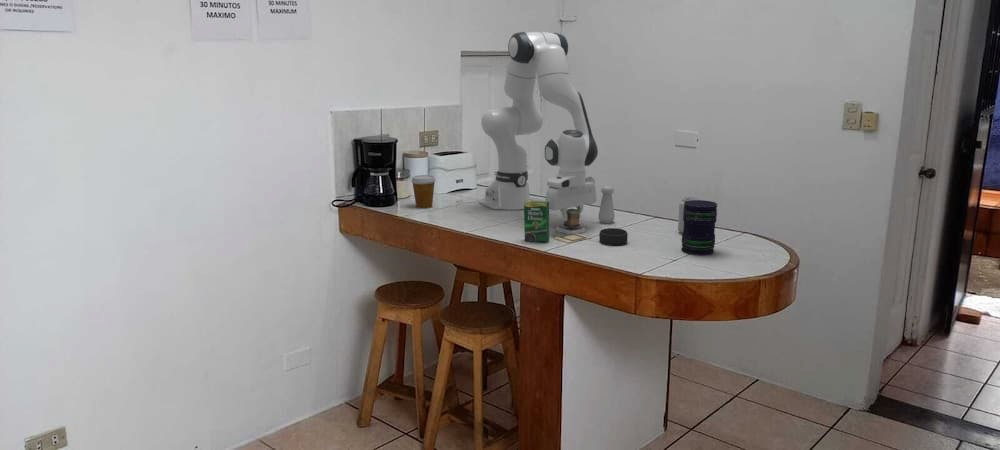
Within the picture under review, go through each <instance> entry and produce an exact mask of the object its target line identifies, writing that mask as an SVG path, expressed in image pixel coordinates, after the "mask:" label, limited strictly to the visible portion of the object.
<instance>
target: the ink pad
mask: <svg viewBox="0 0 1000 450" xmlns="http://www.w3.org/2000/svg"><path fill="white" fill-rule="evenodd" d="M556 232H559V233H560V232H561V233H563V234H565V235H569V234H575V233H578V234H584V233H586V228H585V227H582V226H577V227H572V228H571V227H567V226H563V225H560V226H556Z"/></svg>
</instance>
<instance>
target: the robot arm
mask: <svg viewBox="0 0 1000 450" xmlns="http://www.w3.org/2000/svg"><path fill="white" fill-rule="evenodd" d="M507 48H508V55H509V60H508V63H507V64H508V65H507V70H506V75H505V80H504V87H503V88H504V89H503V90H504V93H505V94H506V96H507V97H508V98H510V99H511V100H512V105H511V106H509V107H508V106H506V107H504V106H503V107H495V108H491V109H489V110H488V109H487V110H486V111H484V113H483V114H482V117H481V124H480V125H481V128H482V130H483V132H484V133H485V134H486V135H487V136H488V137H489V138H490V139H491V140H492V141H493V143H494V145H495V147H496V150H497V151H496V152H497V162H498V166H497V168H498V169H497V171H494V175H495V180H494V181H493V182H492V183H491V184H489V185H488V186H487V187H486V188H485V191H484V198H482V199H479V200H478V201H479V202H478V203H479V204H481V205H483V206H485V207H487V208H490V209H492V210H506V211H507V210H508V211H509V210H510V211H511V210H517V211H518V210H524V202H525V201H531V197H530V195H531V194H530V185H529V183H528V180H529V178H528V176H529V173H528V172H529V171H528V170H527V168H528V166H527V165H528V163H527V161H528V160H527V155H528V154H527V150H526V149H525V148H524V147H522V146H521V145H519V144H518V143H517V141H516V136H527V135H531V134H533V133H537V132H538V131H540V130H541V129H542V126H543V124H544V123H543V122H544V118H543V114H542V112H541V110H540V109H539V108H538V107H537V106H536V104H535V101H534V91H535V84H536V79H537V85H538V89H539V94H540V95H541V97H542V99H544V100H545V101H546V102H549V103H550V104H553V105H554V106H557V107H560V108H563V109H564V110H566V111H568V113H569V114H570V115H571V117H572V121H573V124H574V129H565V130H563V131H562V132H561V133H560V135H559V136H558V137H554V138H552V139H551V138H550V140H548V141H547V142H546V143H545V146H544V159H545V160H546V162H547V163H548V164H549V165H550V166H554V167H559V169H558V173H557V174H555V175H554V176H552V177H551V178H548V179H547V181H546V185H547V186H548V187H547V189H546V192H545V202H549V211H550V210H551V211H557V210H559V211H560V214H561V216H562V221H563V222H564V221H569V215H567V213H566V211H567V209H572V208H576V210H580V212H579V220H580V219H581V214H582V213H583V209H584V206H586V205H592V204H593V205H594V204H596V202H597V188H596V179H594V177H592V176H588V177H586V175H587V174H586V173H587V172H586V171H587V170H586V169H587V168H586V167H589V166H591V165H592V164H593V162H594V161H595V160H596V159H597V158H598V152H599V148H598V145H597V142H596V141H595V137H594V135H593V133H592V128H591V125H590V122H589V117H588V114H587V113H588V112H587V110H586V106H585V103H584V100H583V97H582V94H581V93H580V92H579V91H577V89H576V88H575V87H574V85H573V83H572V80H571V77H570V75H571V74H570V68H569V64H568V63H569V62H568V59H567V55H568V51H569V44H568V40H567V38H566V36H565V35H563V34H560V33H558V32H547V31H528V32H525V31H521V32H515V33H513V34H512V36H511V37H510V39H509V41H508V44H507Z"/></svg>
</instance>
